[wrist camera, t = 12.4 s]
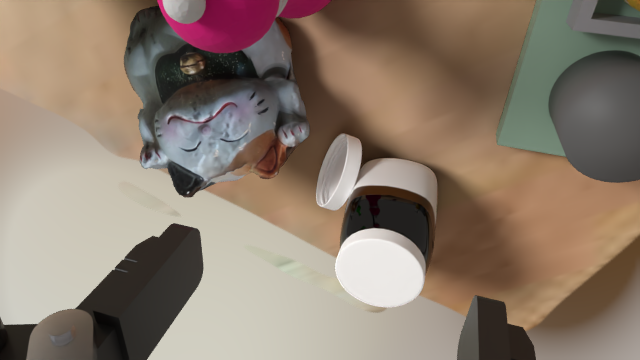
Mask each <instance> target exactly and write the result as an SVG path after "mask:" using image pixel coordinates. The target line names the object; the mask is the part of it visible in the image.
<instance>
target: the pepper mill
mask: <svg viewBox="0 0 640 360" xmlns="http://www.w3.org/2000/svg"><path fill="white" fill-rule="evenodd" d="M330 1H331V0H157V2H158V4H159V7H160V9H161V12H162V14H163V15H164V17H165V19H166V21H167V22H168V24H169V25H170V26H171V27H172V29H173V30H174V31H175V32H176V33H177V34H178V35H179V36H180V37H181V38H182V39H183V40H184V41H186V42H188V43H189V44H191V45H192V46H194V47H197V48H199V49H202V50H205V51H210V52H214V53H231V52H236V51H239V50H242V49H245V48H248V47H250V46H251V45H253V44H254V43H256V42H257V41H259V40H260V39H261V38H262V37H263V36H264V35H265V34H266V33H267V32H268V31H269V29H270V28H271V26H272V24H273V22H274V20H275V18H276V17H277V16H279V17H284V18H302V17H305V16H309V15H311V14H314V13H316V12H318V11H320V10H321V9H322V8H324V7H325V6H326V5H327V4H328V3H329V2H330Z"/></svg>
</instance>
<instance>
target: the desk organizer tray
mask: <svg viewBox="0 0 640 360" xmlns="http://www.w3.org/2000/svg"><path fill="white" fill-rule="evenodd" d="M496 139H497V145H501V146H507V147H513V148H519V149H525V150H530V151H536V152H542V153H548V154H553V155H559V156H565V157H567V159H568V161H569V162H570V163H571V164H572V166H573V167H574V168H576V169H577V170H578V171H579V172H581V173H582V174H584V175H586V176H588V177H590V178H593V179H596V180H600V181H604V182H617V183H620V182H630V181H636V180H640V11H638V10H636V9H635V8H633V7H631V6H629V5H628V4H627V3H625V2H624V1H623V0H536V4H535V7H534V10H533V14H532V17H531V20H530V23H529V27H528V30H527V33H526V37H525V40H524V43H523V47H522V50H521V53H520V56H519V60H518V63H517V66H516V70H515V73H514V76H513V79H512V83H511V86H510V89H509V93H508V96H507V99H506V102H505V106H504V109H503V112H502V116H501V119H500V122H499V126H498V129H497V132H496Z"/></svg>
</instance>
